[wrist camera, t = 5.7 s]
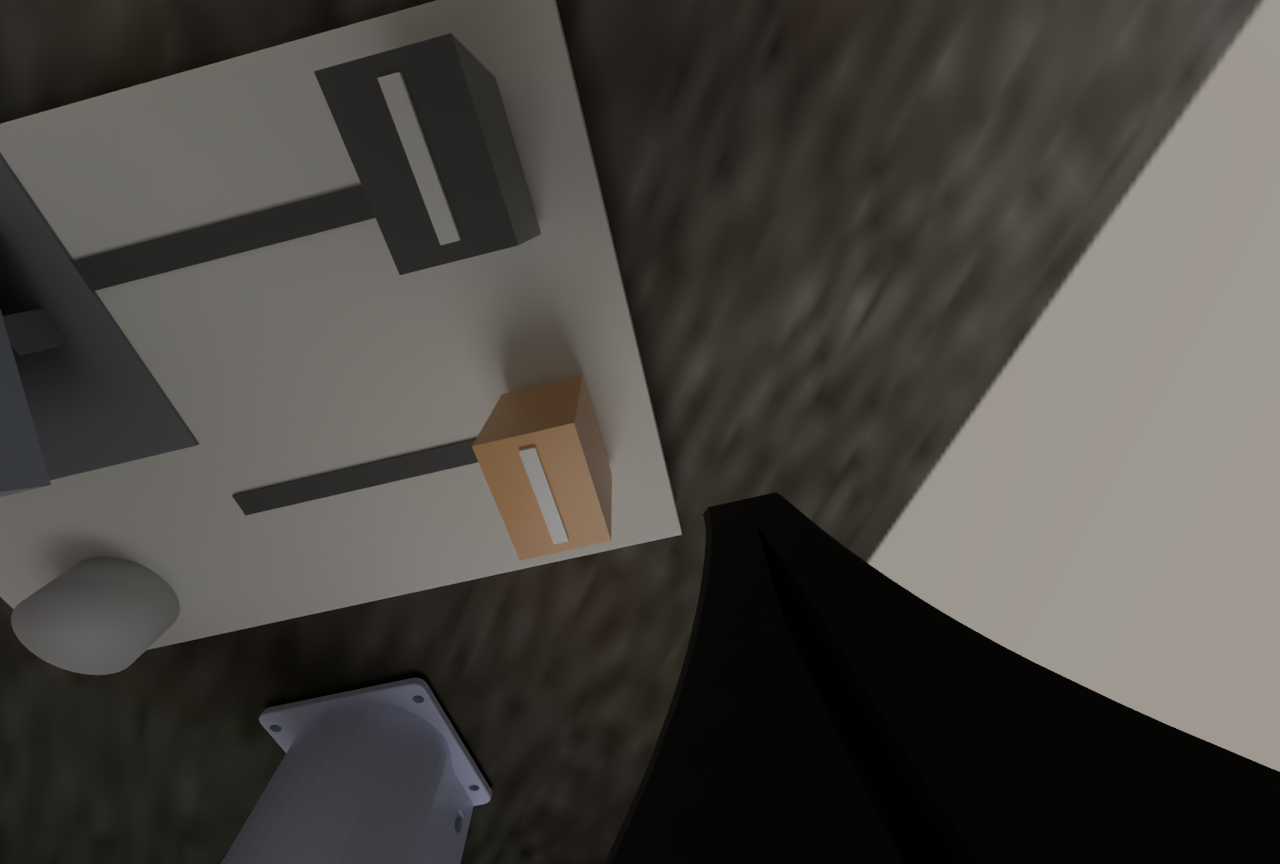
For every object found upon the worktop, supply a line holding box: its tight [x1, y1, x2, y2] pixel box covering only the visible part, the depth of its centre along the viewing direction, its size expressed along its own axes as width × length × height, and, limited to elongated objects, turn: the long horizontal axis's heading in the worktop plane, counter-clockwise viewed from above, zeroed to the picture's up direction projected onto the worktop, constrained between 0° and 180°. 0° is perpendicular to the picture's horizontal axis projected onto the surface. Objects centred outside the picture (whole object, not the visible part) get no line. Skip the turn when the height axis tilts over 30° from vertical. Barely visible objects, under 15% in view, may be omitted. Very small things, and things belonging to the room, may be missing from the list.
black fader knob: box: [314, 33, 541, 275], centre depth 11 cm, size 4×2×4 cm
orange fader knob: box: [472, 375, 612, 560], centre depth 14 cm, size 4×2×4 cm
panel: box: [0, 0, 682, 675], centre depth 15 cm, size 16×24×4 cm, turn 103°
